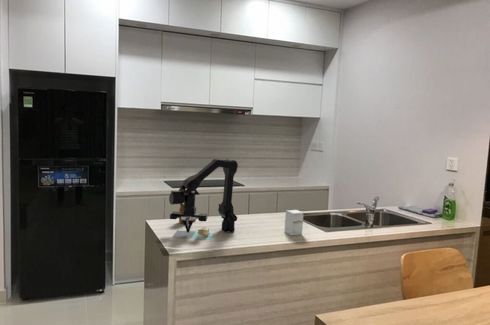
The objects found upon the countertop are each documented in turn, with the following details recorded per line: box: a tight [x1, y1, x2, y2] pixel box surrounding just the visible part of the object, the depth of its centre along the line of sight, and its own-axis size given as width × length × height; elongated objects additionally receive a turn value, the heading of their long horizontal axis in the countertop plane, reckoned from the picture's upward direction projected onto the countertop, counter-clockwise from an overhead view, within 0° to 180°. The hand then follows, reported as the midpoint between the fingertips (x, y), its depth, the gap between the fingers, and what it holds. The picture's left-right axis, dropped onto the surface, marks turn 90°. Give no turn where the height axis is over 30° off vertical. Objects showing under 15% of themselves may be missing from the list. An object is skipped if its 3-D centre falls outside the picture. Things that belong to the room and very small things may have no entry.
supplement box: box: [284, 209, 304, 237], centre depth 217 cm, size 7×7×13 cm
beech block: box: [197, 226, 210, 238], centre depth 203 cm, size 5×5×4 cm
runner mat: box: [171, 229, 215, 241], centre depth 203 cm, size 20×12×1 cm, turn 87°
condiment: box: [176, 203, 190, 225], centre depth 224 cm, size 7×8×12 cm
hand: (188, 232), depth 203 cm, fingers closed
